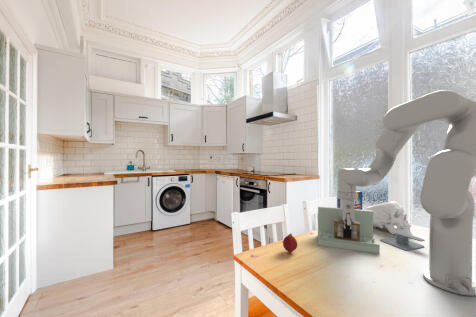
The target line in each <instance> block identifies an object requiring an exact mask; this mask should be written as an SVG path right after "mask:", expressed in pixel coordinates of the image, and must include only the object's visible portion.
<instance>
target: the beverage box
mask: <svg viewBox="0 0 476 317" xmlns="http://www.w3.org/2000/svg"><path fill="white" fill-rule="evenodd" d="M336 192H337V194H336V197H337V198H336V200H337V201H336V203H337V204H336V208H340V199H338V190H336ZM354 206H355V209H357V210H363V191H362V190H361V191H359V190H356V200H354Z"/></svg>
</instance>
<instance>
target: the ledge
mask: <svg viewBox="0 0 476 317" xmlns="http://www.w3.org/2000/svg"><path fill="white" fill-rule="evenodd" d="M334 219H338V220H342V218H341V212H340V208H337V207H329V206H320V205H319V206H317V245H318V246H322V247H329V248H330V247H331V248H338V249H343V250H344V249H345V250H351V251H359V252H366V253H371V254H377V255H378V254H379V255H380V254H381V253H380V248H381V247H380V243H377V242H376V240H375V238H374V226H373V211H369V210H366V209H362V210H357V209H355V221H358V222H359V223H360V242H359V241H351V240H343V239H335V238H334Z"/></svg>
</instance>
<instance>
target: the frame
mask: <svg viewBox="0 0 476 317" xmlns="http://www.w3.org/2000/svg"><path fill="white" fill-rule="evenodd" d="M345 221H346V222H347V220H345ZM345 224H347V223H345ZM343 228H344V222H343V221H342V220H338V219H334V238H335V239H343V240H351V241H359V242H360V223H359V222H358V221H355V223H353V222H352V221H351V238H344V237H343Z"/></svg>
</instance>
